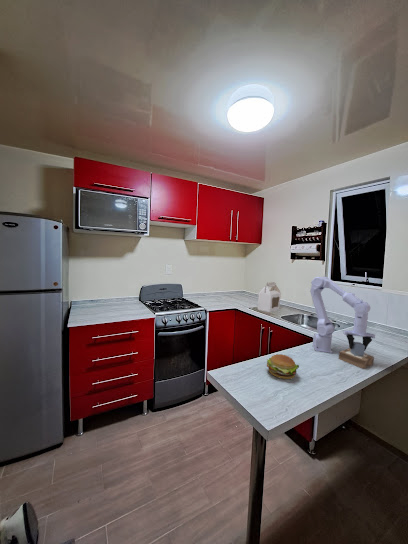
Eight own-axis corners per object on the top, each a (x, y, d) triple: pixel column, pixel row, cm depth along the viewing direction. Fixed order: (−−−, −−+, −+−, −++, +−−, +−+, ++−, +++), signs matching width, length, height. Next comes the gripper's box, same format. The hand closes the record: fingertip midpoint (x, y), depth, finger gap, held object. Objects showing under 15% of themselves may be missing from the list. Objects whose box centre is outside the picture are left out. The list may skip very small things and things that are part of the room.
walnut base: (363, 368, 115) (364, 361, 114) (338, 358, 125) (339, 351, 124) (373, 363, 121) (374, 356, 121) (349, 354, 131) (349, 347, 131)
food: (260, 372, 105) (261, 355, 104) (274, 363, 115) (276, 348, 114) (288, 385, 95) (290, 367, 95) (302, 374, 105) (303, 358, 105)
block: (354, 355, 121) (355, 344, 120) (350, 351, 125) (351, 341, 125) (363, 356, 120) (364, 345, 119) (359, 353, 124) (360, 342, 124)
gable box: (269, 312, 220) (271, 284, 218) (257, 309, 229) (259, 282, 227) (279, 309, 236) (282, 282, 234) (267, 306, 245) (270, 281, 243)
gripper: (348, 325, 119) (345, 350, 120) (379, 328, 116) (376, 354, 117) (343, 321, 126) (340, 344, 127) (372, 324, 123) (369, 348, 124)
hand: (357, 349), depth 123 cm, fingers open, 6 cm apart
